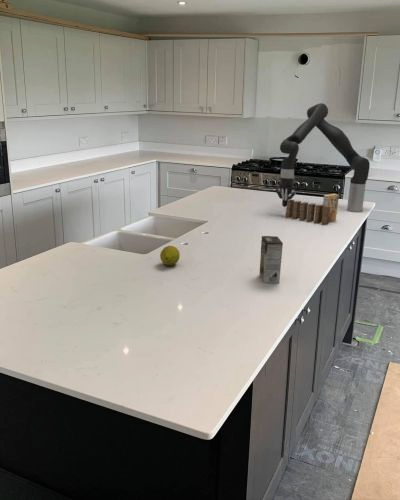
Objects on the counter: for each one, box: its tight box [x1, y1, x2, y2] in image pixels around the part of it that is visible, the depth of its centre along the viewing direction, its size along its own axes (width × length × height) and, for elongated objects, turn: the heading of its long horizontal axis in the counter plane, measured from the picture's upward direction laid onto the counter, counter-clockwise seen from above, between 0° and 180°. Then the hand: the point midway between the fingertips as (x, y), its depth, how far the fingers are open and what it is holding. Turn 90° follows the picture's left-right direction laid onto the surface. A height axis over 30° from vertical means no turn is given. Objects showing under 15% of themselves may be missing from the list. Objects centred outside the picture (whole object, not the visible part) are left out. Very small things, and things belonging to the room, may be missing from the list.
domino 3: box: [299, 201, 309, 222], centre depth 291 cm, size 5×2×10 cm, turn 142°
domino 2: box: [291, 200, 302, 220], centre depth 293 cm, size 5×2×10 cm, turn 142°
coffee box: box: [258, 235, 284, 284], centre depth 196 cm, size 9×6×16 cm
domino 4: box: [306, 202, 317, 223], centre depth 288 cm, size 5×2×10 cm, turn 142°
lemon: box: [159, 245, 181, 266], centre depth 209 cm, size 11×8×8 cm
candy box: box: [321, 193, 340, 223], centre depth 289 cm, size 9×4×15 cm, turn 129°
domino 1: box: [285, 199, 296, 219], centre depth 296 cm, size 5×2×10 cm, turn 141°
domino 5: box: [313, 203, 323, 225], centre depth 286 cm, size 5×2×10 cm, turn 142°
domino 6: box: [320, 206, 331, 226], centre depth 283 cm, size 5×2×10 cm, turn 142°
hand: (284, 206), depth 298 cm, fingers closed
